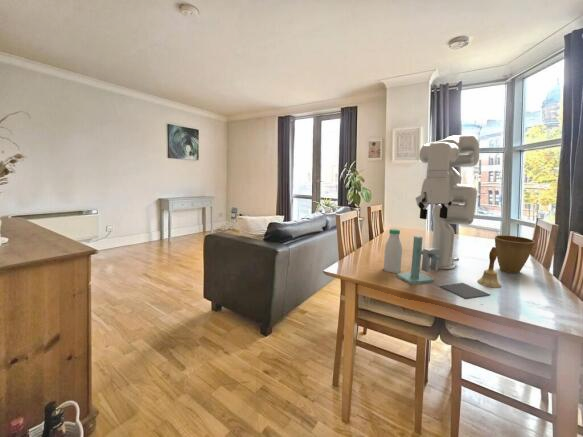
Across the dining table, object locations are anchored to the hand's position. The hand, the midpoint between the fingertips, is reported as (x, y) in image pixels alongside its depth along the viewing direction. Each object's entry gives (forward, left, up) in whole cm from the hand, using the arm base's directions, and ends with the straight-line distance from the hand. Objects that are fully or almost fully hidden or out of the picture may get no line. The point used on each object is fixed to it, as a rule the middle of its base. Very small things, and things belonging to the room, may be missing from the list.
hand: (433, 218), depth 110 cm
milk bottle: (+3, -20, -28) cm, 35 cm away
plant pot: (-53, -5, -28) cm, 61 cm away
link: (0, 0, -22) cm, 22 cm away
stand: (0, -4, -28) cm, 29 cm away
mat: (-10, +8, -28) cm, 31 cm away
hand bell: (-27, +5, -28) cm, 40 cm away
